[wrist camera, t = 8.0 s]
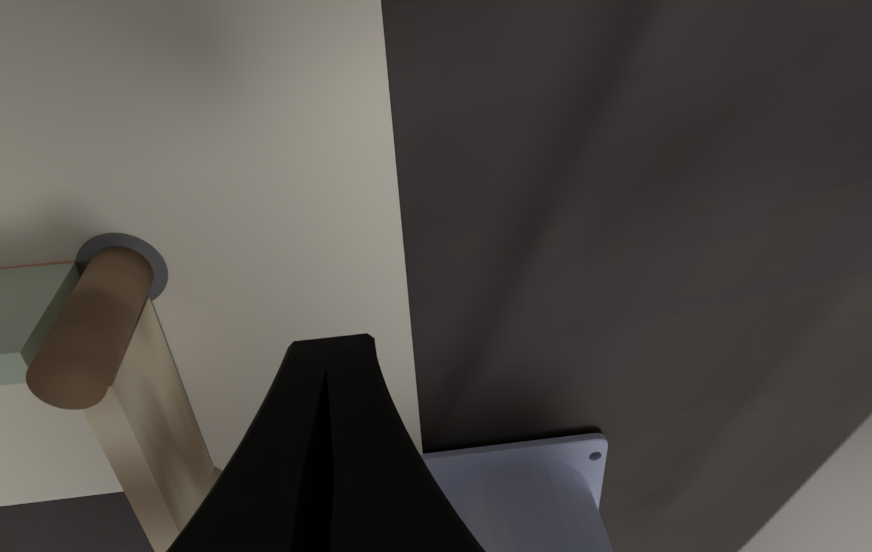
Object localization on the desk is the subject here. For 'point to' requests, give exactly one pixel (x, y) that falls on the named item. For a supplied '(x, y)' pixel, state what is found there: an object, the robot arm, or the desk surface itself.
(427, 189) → the desk surface
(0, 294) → the fence swing panel
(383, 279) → the card
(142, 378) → the fence fixed section
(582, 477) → the robot arm
